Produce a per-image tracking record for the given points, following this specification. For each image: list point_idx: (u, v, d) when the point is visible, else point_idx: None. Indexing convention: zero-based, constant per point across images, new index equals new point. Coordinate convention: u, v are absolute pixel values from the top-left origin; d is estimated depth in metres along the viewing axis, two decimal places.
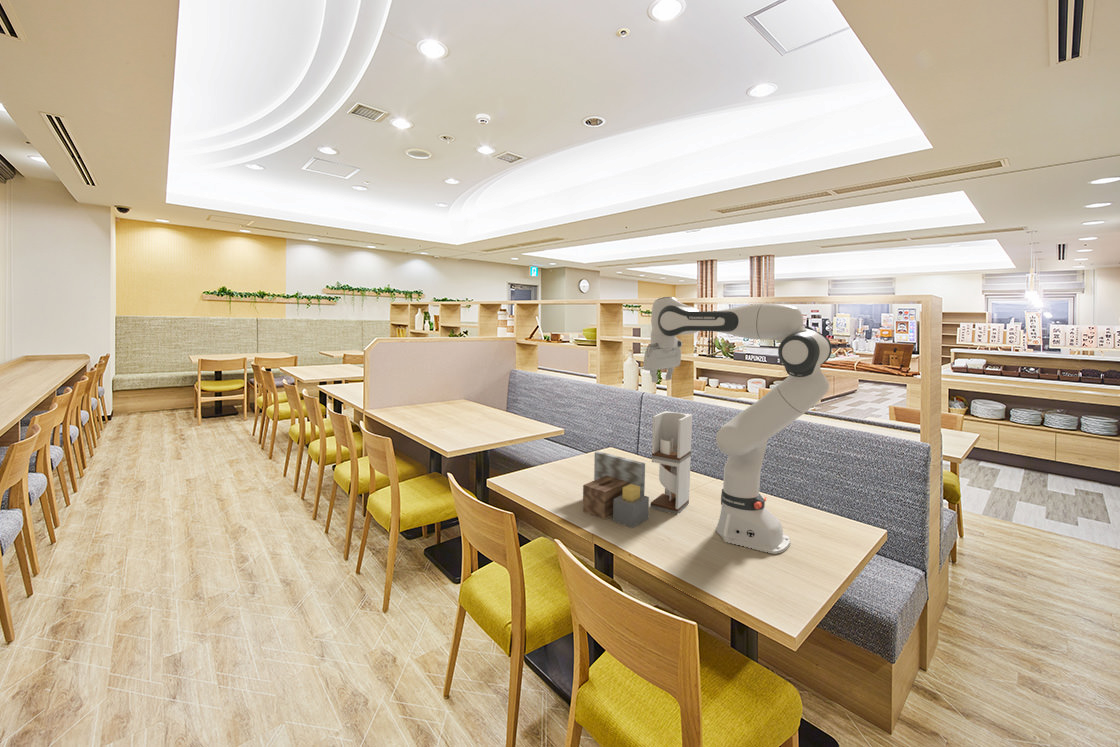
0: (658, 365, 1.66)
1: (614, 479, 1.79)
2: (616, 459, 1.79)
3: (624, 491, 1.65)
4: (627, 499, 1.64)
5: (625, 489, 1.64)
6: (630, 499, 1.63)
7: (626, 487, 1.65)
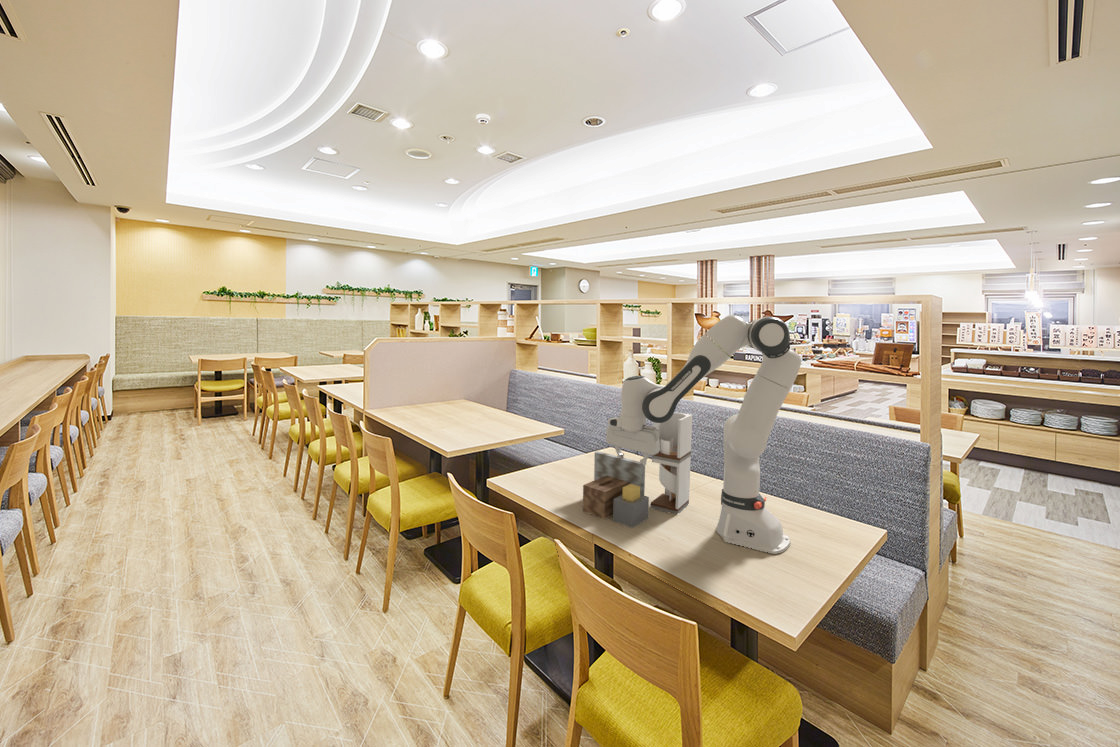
0: None
1: (614, 479, 1.79)
2: (616, 459, 1.79)
3: (624, 491, 1.65)
4: (627, 499, 1.64)
5: (625, 489, 1.64)
6: (630, 499, 1.63)
7: (626, 487, 1.65)
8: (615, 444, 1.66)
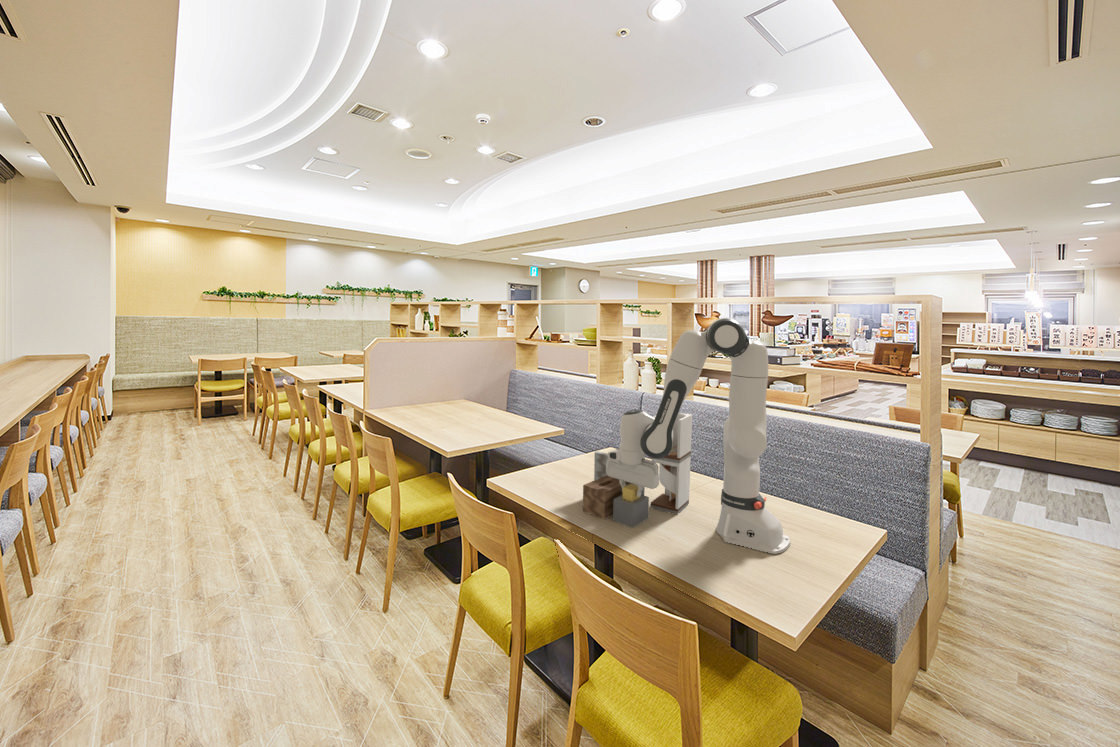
0: None
1: (614, 479, 1.79)
2: None
3: (624, 491, 1.65)
4: (627, 499, 1.64)
5: (625, 489, 1.64)
6: (630, 499, 1.63)
7: (626, 487, 1.65)
8: (615, 477, 1.68)
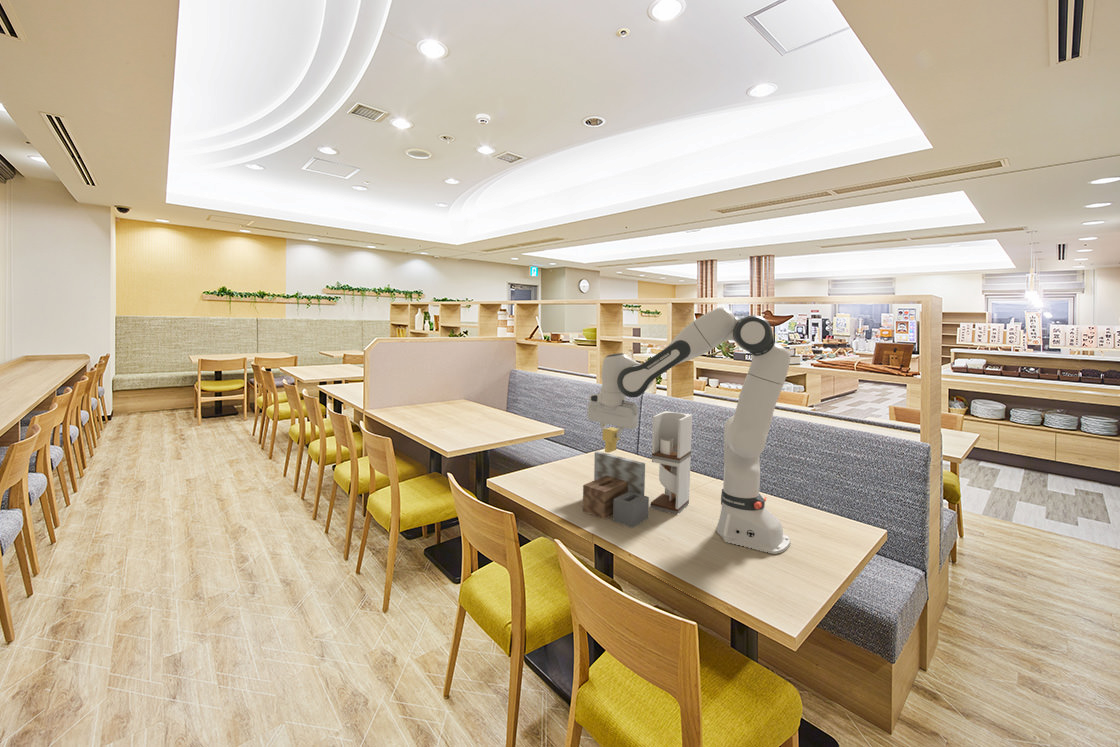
0: None
1: (614, 479, 1.79)
2: (616, 459, 1.79)
3: (604, 433, 1.69)
4: (607, 440, 1.69)
5: (605, 431, 1.69)
6: (610, 440, 1.68)
7: (606, 429, 1.69)
8: (596, 419, 1.72)
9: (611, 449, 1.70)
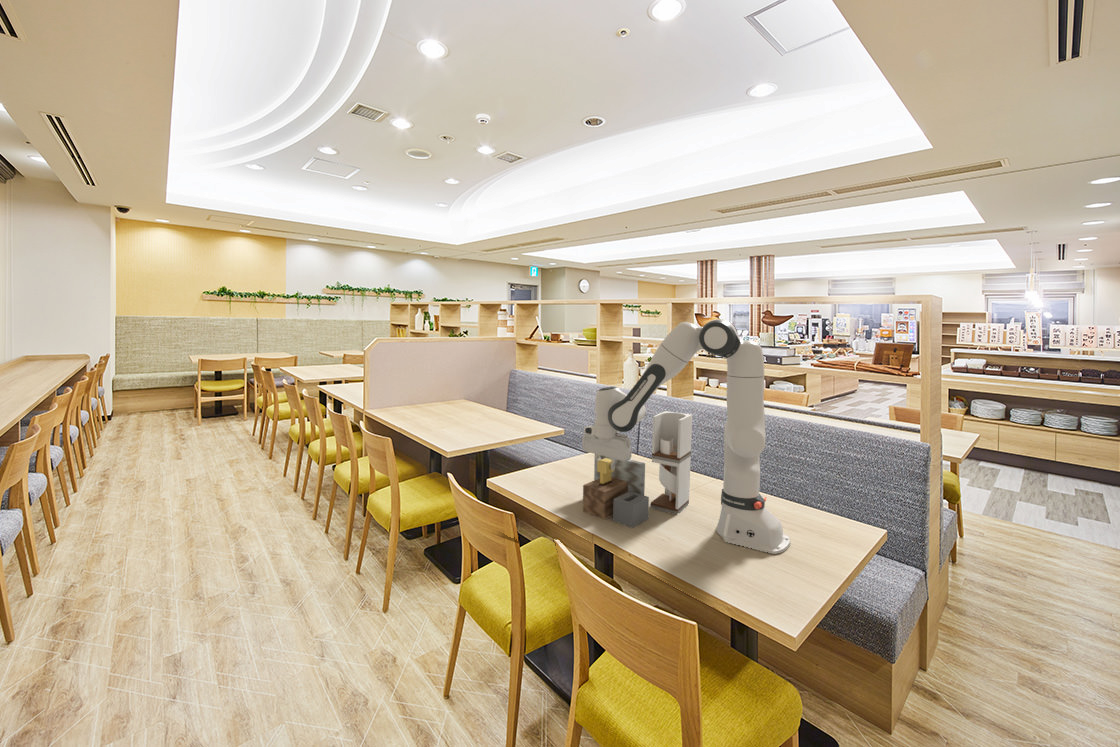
0: None
1: (614, 479, 1.79)
2: None
3: (599, 465, 1.73)
4: (601, 472, 1.72)
5: (600, 462, 1.72)
6: (604, 472, 1.71)
7: (601, 460, 1.73)
8: (590, 451, 1.76)
9: (606, 480, 1.74)
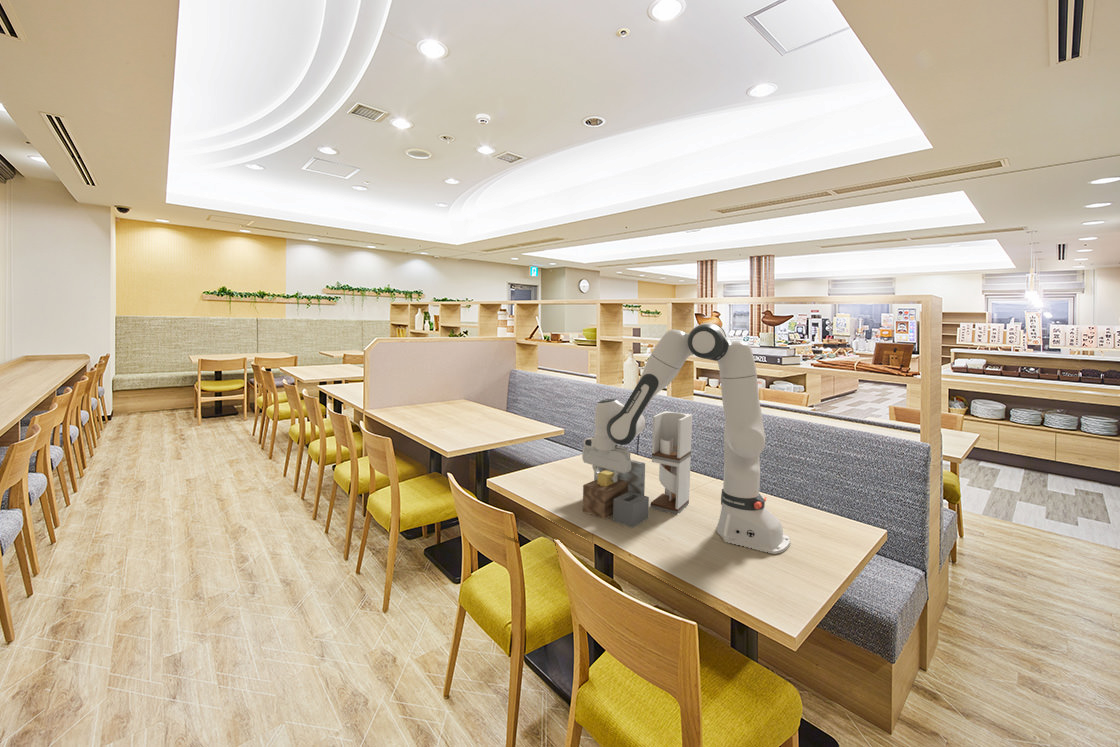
0: None
1: None
2: None
3: (599, 477, 1.73)
4: (602, 484, 1.73)
5: (600, 475, 1.73)
6: (604, 484, 1.72)
7: (601, 473, 1.74)
8: (590, 463, 1.76)
9: None
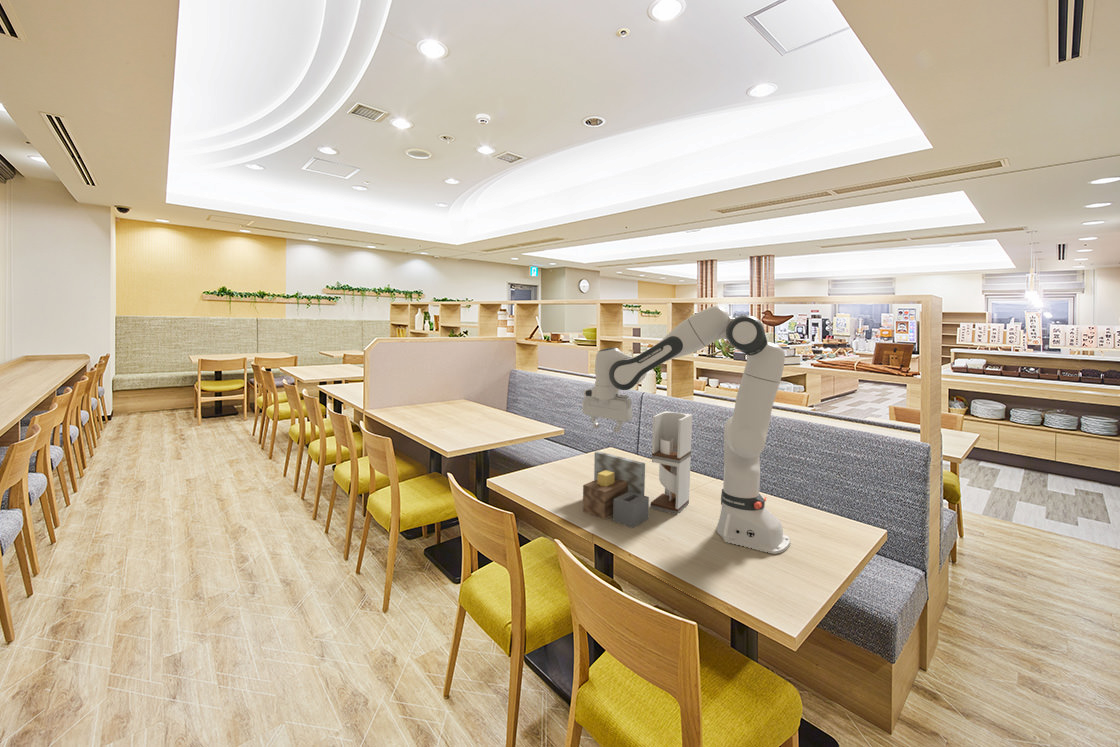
0: None
1: (614, 479, 1.79)
2: (616, 459, 1.79)
3: (599, 477, 1.73)
4: (602, 484, 1.73)
5: (600, 475, 1.73)
6: (604, 484, 1.72)
7: (601, 473, 1.74)
8: (591, 414, 1.74)
9: None
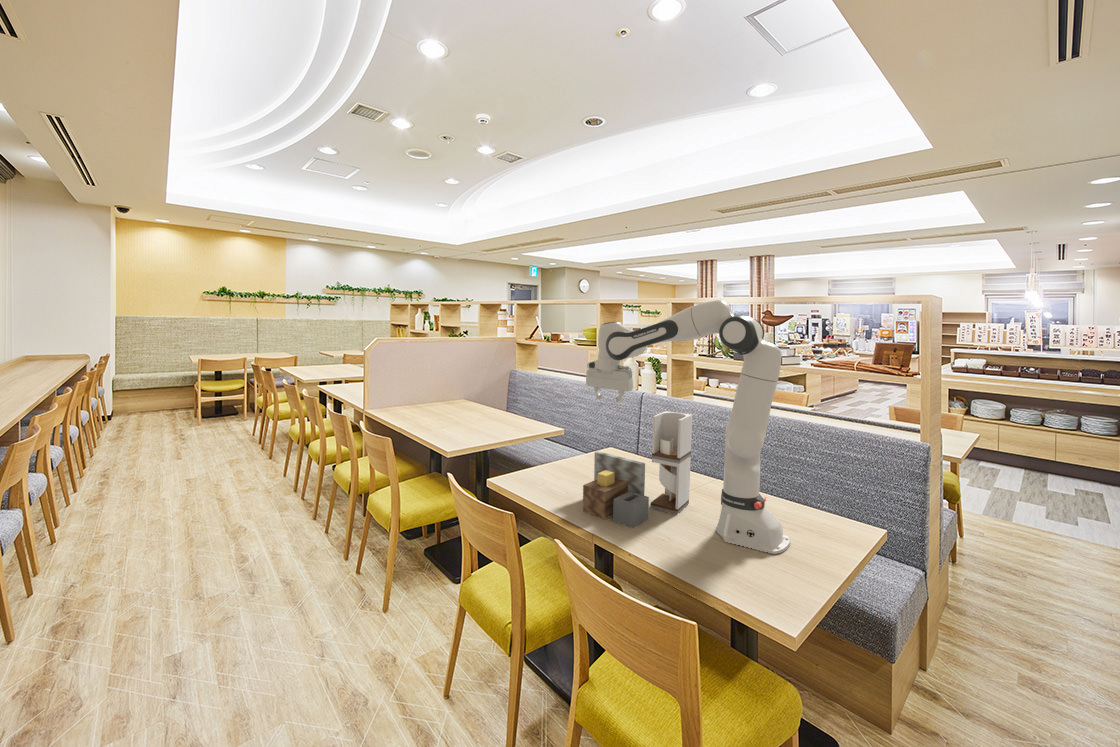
0: None
1: (614, 479, 1.79)
2: (616, 459, 1.79)
3: (599, 477, 1.73)
4: (602, 484, 1.73)
5: (600, 475, 1.73)
6: (604, 484, 1.72)
7: (601, 473, 1.74)
8: (594, 385, 1.84)
9: None
